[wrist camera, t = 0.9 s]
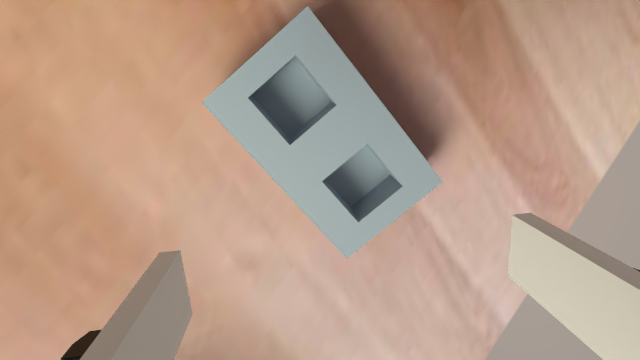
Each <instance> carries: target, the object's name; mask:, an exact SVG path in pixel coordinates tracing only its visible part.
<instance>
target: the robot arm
mask: <svg viewBox="0 0 640 360" xmlns="http://www.w3.org/2000/svg"><path fill="white" fill-rule="evenodd" d="M508 276H509V277H510V278H511V279H512V280H513V281H514V282H516V283H517V284H518V285H519V286H520V287H521V288H522V289H524V290H525V291H526V292H527V293H528V294H529V295H530V296H531V297H533V298H534V299H535V300H536V301H537V302H539V304H541V305H542V306H543V307H544V308H545V309H546V310H547V311H549V312H550V313H551V314H552V315H553V316H554V317H556V318H557V319H558V320H559V321H560V322H561V323H562V324H563V325H565V326H566V327H567V328H568V329H569V330H570V331H571V332H573V333H574V334H575V335H576V336H577V337H578V338H579V339H581V340H582V341H583V342H584V343H585V344H586V345H587V346H588V347H590V348H591V349H592V350H593V351H594V352H595V353H596V354H598V355H599V356H600V357H601V358H602V359H603V360H640V270H637V269H635V268H632V267H630V266H628V265H626V264H624V263H622V262H621V261H619V260H617V259H615V258H613V257H611V256H609V255H608V254H606V253H604V252H602V251H600V250H598V249H596V248H595V247H593V246H591V245H589V244H587V243H585V242H583V241H581V240H580V239H578V238H576V237H574V236H572V235H570V234H569V233H567V232H565V231H563V230H561V229H559V228H557V227H556V226H554V225H552V224H550V223H548V222H546V221H544V220H543V219H541V218H539V217H537V216H535V215H533V214H531V213H525V214H516V215H512V226H511V241H510V256H509V270H508ZM191 316H192V308H191V303H190V298H189V293H188V288H187V283H186V278H185V273H184V268H183V262H182V257H181V252H180V251H171V252H161V253H159V254H158V255H157V257H156V258H155V259H154V261H153V262H152V263H151V265H150V266H149V267H148V269H147V270H146V271H145V273H144V274H143V276H142V277H141V278H140V280H139V281H138V282H137V284H136V285H135V286H134V288H133V289H132V290H131V292H130V293H129V294H128V296H127V297H126V298H125V300H124V301H123V302H122V304H121V305H120V306H119V308H118V309H117V310H116V312H115V313H114V314H113V316H112V317H111V318H110V320H109V321H108V322H107V324H106V325H105V326H104V328H103V329H102V330H96V331H89V332H88V333H87V334H86V335H84V336H83V337H82V338H80V339H79V340H78V341H76V342H75V343H74V344H72V346H71V347H70V348H69V349H68V350H67V352H66V353H65V354H64V355H63V357H62V358H61V360H174V357H175V355H176V352H177V350H178V347H179V345H180V343H181V340H182V338H183V335H184V333H185V330H186V328H187V325H188V323H189V321H190V318H191Z"/></svg>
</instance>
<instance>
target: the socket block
mask: <svg viewBox="0 0 640 360" xmlns="http://www.w3.org/2000/svg"><path fill="white" fill-rule="evenodd" d="M202 103H203V105H204V106H205V107H206V108H207V109H208V110H209V111H210V112H211V113H212V114H213V115H214V116H215V117H216V118H217V120H218V121H219V122H220V123H221V124H222V125H223V126H224V127H225V128H226V129H227V130H228V131H229V132H230V134H231V135H232V136H233V137H234V138H235V139H236V140H237V141H238V142H239V143H240V144H241V145H242V146H243V148H244V149H245V150H246V151H247V152H248V153H249V154H250V155H251V156H252V157H253V158H254V159H255V160H256V161H257V163H258V164H259V165H260V166H261V167H262V168H263V169H264V170H265V171H266V172H267V173H268V174H269V175H270V177H271V178H272V179H273V180H274V181H275V182H276V183H277V184H278V185H279V186H280V187H281V188H282V189H283V191H284V192H285V193H286V194H287V195H288V196H289V197H290V198H291V199H292V200H293V201H294V202H295V203H296V205H297V206H298V207H299V208H300V209H301V210H302V211H303V212H304V213H305V214H306V215H307V216H308V217H309V218H310V220H311V221H312V222H313V223H314V224H315V225H316V226H317V227H318V228H319V229H320V230H321V231H322V232H323V234H324V235H325V236H326V237H327V238H328V239H329V240H330V241H331V242H332V243H333V244H334V245H335V246H336V248H337V249H338V250H339V251H340V252H341V253H342V254H343V255H344V256H345V257H346V258H348V257H350V256H351V255H352V254H353V253H355V252H356V251H357V250H358V249H360V248H361V247H362V246H363V245H365V244H366V243H367V242H368V241H370V240H371V239H372V238H373V237H375V236H376V235H377V234H378V233H380V232H381V231H382V230H383V229H385V228H386V227H387V226H388V225H390V224H391V223H392V222H393V221H395V220H396V219H397V218H398V217H400V216H401V215H402V214H403V213H405V212H406V211H407V210H408V209H410V208H411V207H412V206H413V205H415V204H416V203H417V202H418V201H420V200H421V199H422V198H423V197H425V196H426V195H427V194H428V193H430V192H431V191H432V190H433V189H434V188H436V187H437V186H438V185H439V184H441V183H442V182H443V181H442V180H441V178H440V177H439V176H438V175H437V173H436V172H435V171H434V169H433V168H432V167H431V165H430V164H429V163H428V162H427V160H426V159H425V158H424V156H423V155H422V154H421V152H420V151H419V150H418V149H417V147H416V146H415V145H414V143H413V142H412V141H411V140H410V138H409V137H408V136H407V134H406V133H405V132H404V130H403V129H402V128H401V127H400V125H399V124H398V123H397V121H396V120H395V119H394V117H393V116H392V115H391V114H390V112H389V111H388V110H387V108H386V107H385V106H384V104H383V103H382V102H381V101H380V99H379V98H378V97H377V95H376V94H375V93H374V92H373V90H372V89H371V88H370V86H369V85H368V84H367V82H366V81H365V80H364V79H363V77H362V76H361V75H360V73H359V72H358V71H357V69H356V68H355V67H354V66H353V64H352V63H351V62H350V60H349V59H348V58H347V56H346V55H345V54H344V53H343V51H342V50H341V49H340V47H339V46H338V45H337V44H336V42H335V41H334V40H333V38H332V37H331V36H330V34H329V33H328V32H327V31H326V29H325V28H324V27H323V25H322V24H321V23H320V21H319V20H318V19H317V18H316V16H315V15H314V14H313V12H312V11H311V10H310V8H309V7H308V6H307V7H306V8H305V9H304V10H303V11H302V12H300V13H299V14H298V15H297V16H296V17H295V18H294V19H293V20H292V21H291V22H289V23H288V24H287V25H286V26H285V27H284V28H283V29H282V30H281V31H280V32H278V33H277V34H276V35H275V36H274V37H273V38H272V39H271V40H270V41H269V42H267V43H266V44H265V45H264V46H263V47H262V48H261V49H260V50H259V51H258V52H256V53H255V54H254V55H253V56H252V57H251V58H250V59H249V60H248V61H247V62H245V63H244V64H243V65H242V66H241V67H240V68H239V69H238V70H237V71H236V72H234V73H233V74H232V75H231V76H230V77H229V78H228V79H227V80H226V81H225V82H223V83H222V84H221V85H220V86H219V87H218V88H217V89H216V90H215V91H214V92H212V93H211V94H210V95H209V96H208V97H207V98H206V99H205V100H204V101H203V102H202Z"/></svg>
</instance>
